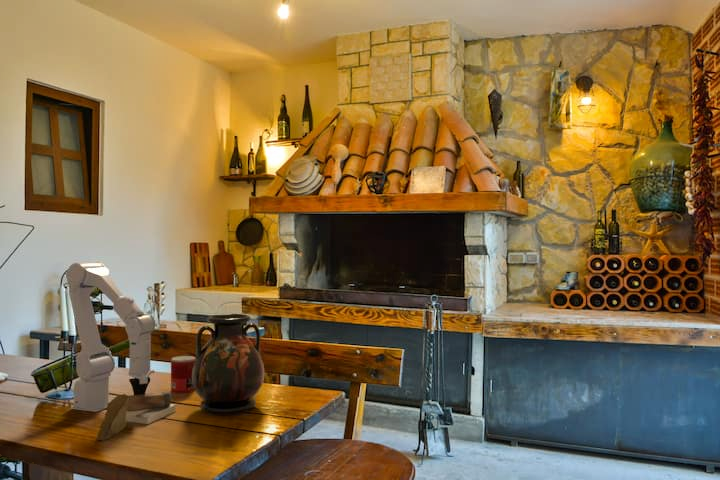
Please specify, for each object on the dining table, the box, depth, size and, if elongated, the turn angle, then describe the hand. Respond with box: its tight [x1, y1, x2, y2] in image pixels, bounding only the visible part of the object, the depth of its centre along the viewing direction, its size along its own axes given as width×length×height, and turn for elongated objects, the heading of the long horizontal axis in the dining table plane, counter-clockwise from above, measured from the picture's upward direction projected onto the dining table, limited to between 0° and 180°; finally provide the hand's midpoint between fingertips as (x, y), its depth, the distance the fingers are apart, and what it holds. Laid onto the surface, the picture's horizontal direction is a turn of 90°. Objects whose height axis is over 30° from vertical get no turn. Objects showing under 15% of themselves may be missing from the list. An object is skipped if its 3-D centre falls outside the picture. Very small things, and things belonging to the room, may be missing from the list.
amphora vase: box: [192, 313, 265, 416], centre depth 165 cm, size 22×22×28 cm
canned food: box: [170, 355, 196, 394], centre depth 184 cm, size 8×8×11 cm
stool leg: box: [127, 391, 172, 411], centre depth 158 cm, size 12×3×4 cm, turn 117°
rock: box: [95, 393, 129, 441], centre depth 142 cm, size 11×9×10 cm
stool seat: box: [126, 403, 176, 425], centre depth 157 cm, size 13×13×2 cm
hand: (139, 402), depth 159 cm, fingers closed
